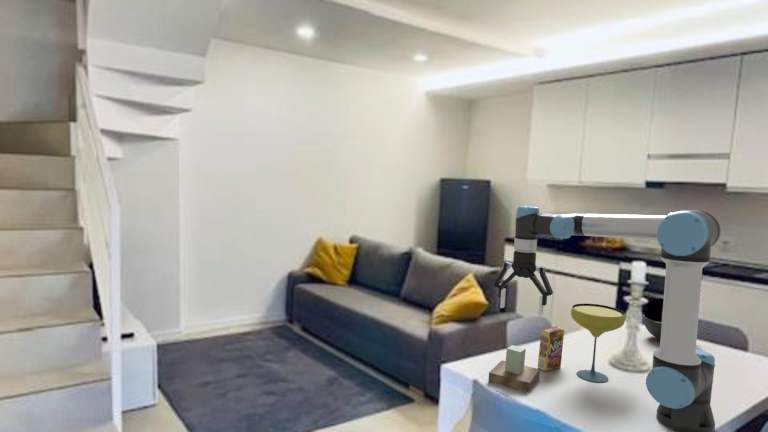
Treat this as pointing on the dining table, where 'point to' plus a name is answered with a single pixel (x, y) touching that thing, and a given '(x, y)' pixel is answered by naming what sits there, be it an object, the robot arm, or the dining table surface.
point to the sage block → (515, 359)
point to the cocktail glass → (596, 330)
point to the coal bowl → (654, 317)
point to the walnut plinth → (514, 377)
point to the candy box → (550, 348)
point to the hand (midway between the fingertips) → (521, 310)
